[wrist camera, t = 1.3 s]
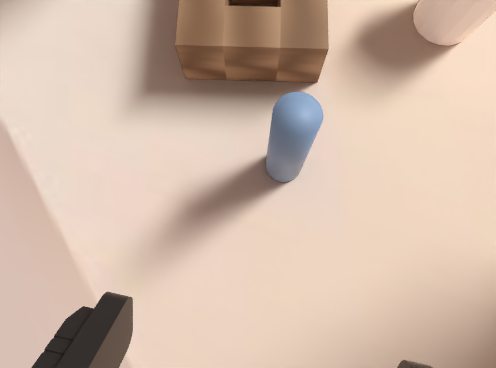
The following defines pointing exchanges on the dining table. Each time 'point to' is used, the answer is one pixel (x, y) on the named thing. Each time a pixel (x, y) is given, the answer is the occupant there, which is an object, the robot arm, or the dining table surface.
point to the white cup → (450, 19)
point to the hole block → (252, 39)
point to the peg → (292, 134)
